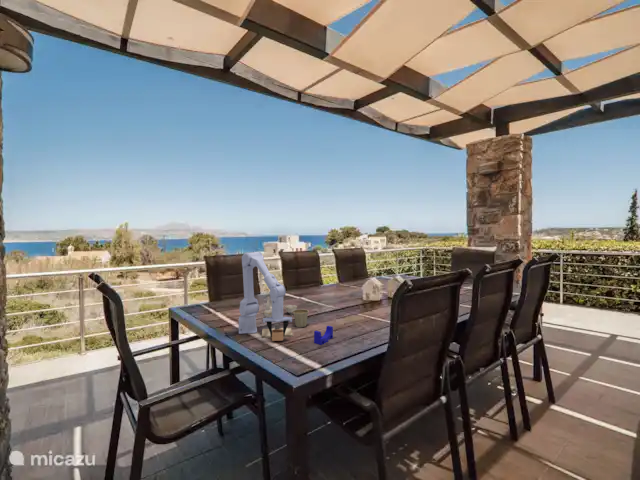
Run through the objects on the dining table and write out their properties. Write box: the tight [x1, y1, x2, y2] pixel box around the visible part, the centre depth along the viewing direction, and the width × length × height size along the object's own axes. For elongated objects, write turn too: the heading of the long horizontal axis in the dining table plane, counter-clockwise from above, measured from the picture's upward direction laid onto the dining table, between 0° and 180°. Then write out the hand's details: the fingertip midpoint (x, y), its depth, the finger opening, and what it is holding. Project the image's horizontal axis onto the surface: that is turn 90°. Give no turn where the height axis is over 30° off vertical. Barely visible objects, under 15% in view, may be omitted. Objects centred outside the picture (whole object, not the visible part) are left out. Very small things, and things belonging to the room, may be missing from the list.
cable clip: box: [313, 325, 334, 346], centre depth 167 cm, size 12×4×6 cm, turn 143°
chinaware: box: [261, 295, 299, 319], centre depth 213 cm, size 28×17×17 cm, turn 142°
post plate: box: [261, 322, 294, 339], centre depth 178 cm, size 16×12×6 cm
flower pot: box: [293, 308, 310, 328], centre depth 191 cm, size 9×9×9 cm
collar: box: [271, 328, 284, 342], centre depth 167 cm, size 6×6×4 cm
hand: (277, 336), depth 167 cm, fingers closed on collar, 6 cm apart
